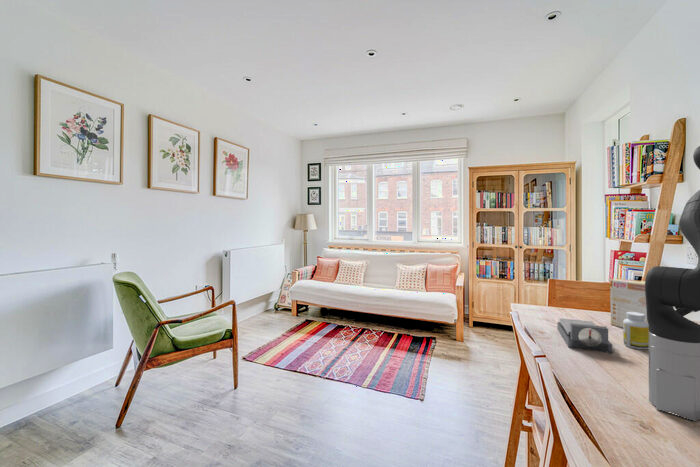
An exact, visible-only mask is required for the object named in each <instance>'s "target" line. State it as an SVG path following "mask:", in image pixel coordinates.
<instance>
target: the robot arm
mask: <svg viewBox="0 0 700 467" xmlns="http://www.w3.org/2000/svg"><path fill="white" fill-rule="evenodd" d="M692 158H693V162H694V164H695V166H696V167H697V168H698V170H700V145H699V146H697V147H696V148H695V150H694V152H693V157H692ZM678 226H679V230H680V231H681V234H682V235H683V236H684V237H685V239H686V241H687V242H688V243H689V244H690V245H691V247H692V248H693V249H694V250H693V251H695V253H696V255H697V258H698V261H697V264H696V267H695V268H686V267H675V266H674V267H673V266H661V265H659V266H652V267H651V268H649V270H648V271H647V272H646V274H645V279H644V281H645V296H646V309H647V321H648V325H649V348H648V401H649V403H652V404H651V405H653V406H654V407H655V406H656V407H655V409H656V410H657V409H659V410H658V411H660V410H662V411H661V412H663V411H666V412H671V413H674V414H677V415H679V416H682V417H685V418H687V419H686V420H688V419H690V420H689V421H691V420H693V422H695V421H700V324H699V323H697V322H695V321H693V320H691V319H689V318H686V317H685V316H687V315H688V314H689V315H690V314H691V313H696V312H700V189H698V190H697V192H695V193H694V194H693V195H692V196H691V197H690V198H689V199H688V200H687V202H686V203H685V206H684V207H683V210H682V212H681V215H680V219H679V221H678ZM666 412H665V413H666ZM679 416H678V417H679ZM682 417H681V418H682ZM685 418H684V419H685Z"/></svg>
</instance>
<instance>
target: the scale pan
mask: <svg viewBox="0 0 700 467" xmlns="http://www.w3.org/2000/svg"><path fill="white" fill-rule="evenodd" d="M558 322H560V323H561V325H562V326H563V328H564V329H565V331H566V332H567V334H568V335H570V323H571V324H582V325H592V326H597V325H596V324H595V323H594V322H593V320H581V319H571V318H570V319H568V318H561V317H560V318H558Z"/></svg>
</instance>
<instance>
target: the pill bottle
mask: <svg viewBox="0 0 700 467" xmlns="http://www.w3.org/2000/svg"><path fill="white" fill-rule="evenodd" d="M626 316H627V317H628V318H627V319H625V320H624V321H623V327H622V329H623V331H622V334H623V344H624V345H625V346H627V347H629V348H631V349H636V350H649V325H648V323H647V322H645V321H644V319H645V315H644V314H642V313H637V312H627V313H626Z"/></svg>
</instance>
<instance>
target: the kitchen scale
mask: <svg viewBox="0 0 700 467" xmlns="http://www.w3.org/2000/svg"><path fill="white" fill-rule="evenodd" d="M556 330H557V331H558V332H559V334H560V337H562V339H563V341H564V342H565V344H566V346H567V347H568V348H570V349H577V350H586V351H593V352H601V353H608V354H609V353H611V354H613V344H612V343H611V341H610V340H609V329H608V327H607V326H601V325H600V326H599V325H596V326H592V325H582V324H571V323H570V335H568V334H567V332H566V331H565V329H564V328H563V326H562V325H561V323H560V322H559V321H557V328H556Z"/></svg>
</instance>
